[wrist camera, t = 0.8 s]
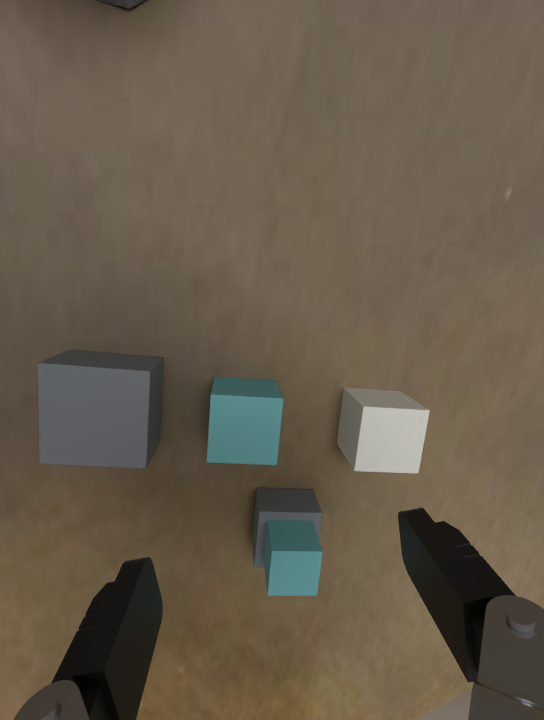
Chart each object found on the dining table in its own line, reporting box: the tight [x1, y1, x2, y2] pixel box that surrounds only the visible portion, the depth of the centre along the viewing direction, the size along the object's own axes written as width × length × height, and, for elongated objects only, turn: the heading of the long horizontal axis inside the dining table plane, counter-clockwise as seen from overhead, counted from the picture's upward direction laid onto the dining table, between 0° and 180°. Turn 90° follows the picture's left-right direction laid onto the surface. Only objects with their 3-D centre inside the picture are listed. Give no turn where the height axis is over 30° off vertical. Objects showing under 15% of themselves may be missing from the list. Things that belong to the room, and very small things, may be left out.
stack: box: [252, 488, 323, 596], centre depth 30 cm, size 5×5×7 cm
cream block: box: [337, 388, 430, 473], centre depth 30 cm, size 5×5×5 cm
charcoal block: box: [38, 350, 164, 469], centre depth 28 cm, size 7×7×5 cm
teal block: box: [207, 377, 283, 465], centre depth 29 cm, size 5×5×5 cm
